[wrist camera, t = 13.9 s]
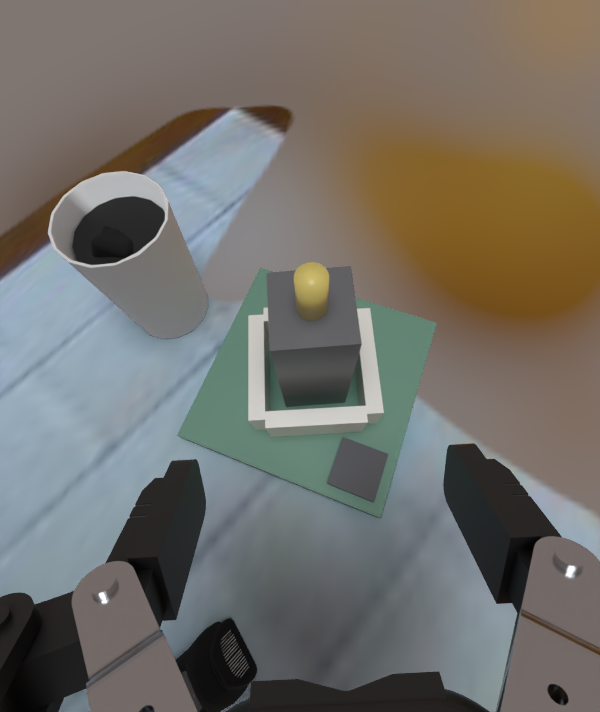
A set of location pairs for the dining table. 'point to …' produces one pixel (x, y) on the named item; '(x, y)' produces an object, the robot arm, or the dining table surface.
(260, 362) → the socket
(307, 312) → the plug
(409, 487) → the dining table surface
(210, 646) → the electric trimmer
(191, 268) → the grey cup
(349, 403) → the circuit board
